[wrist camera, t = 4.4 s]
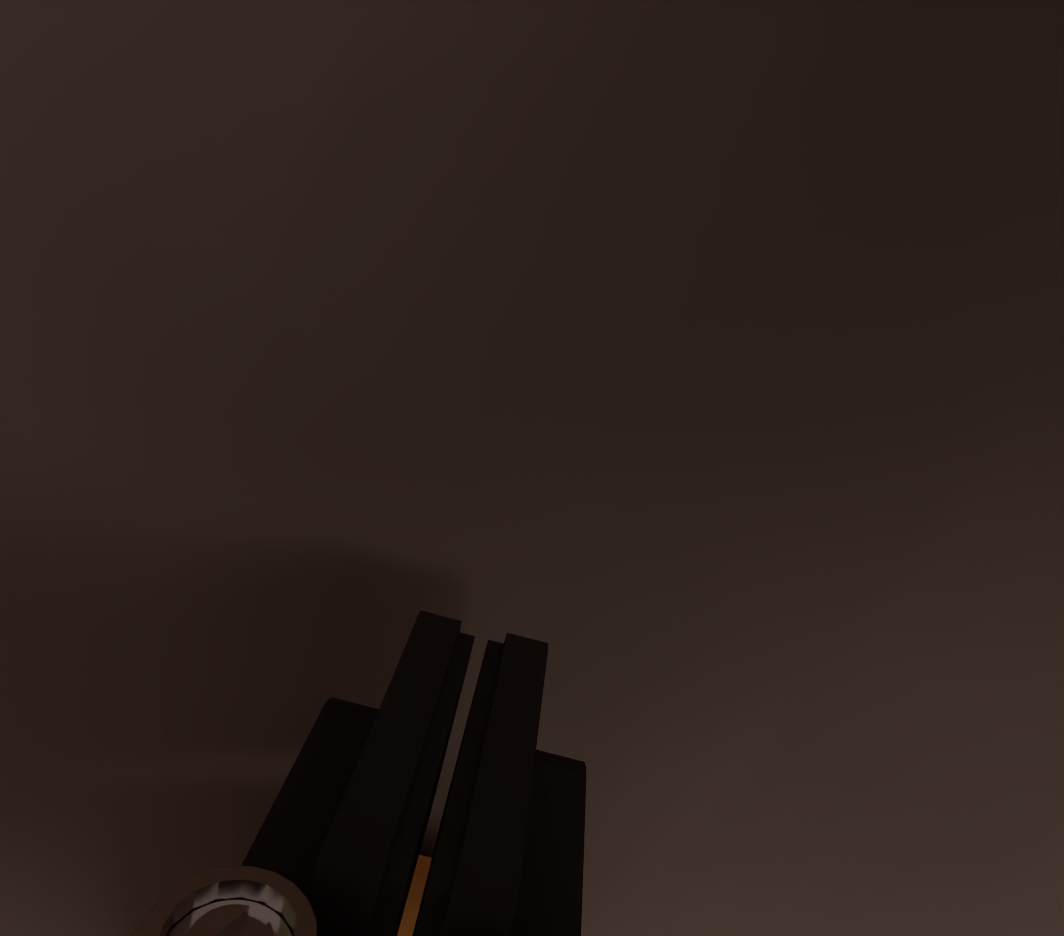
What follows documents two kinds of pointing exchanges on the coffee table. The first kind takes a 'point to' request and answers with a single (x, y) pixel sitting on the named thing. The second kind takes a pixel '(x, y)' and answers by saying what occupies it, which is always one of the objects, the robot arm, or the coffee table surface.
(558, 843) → the robot arm
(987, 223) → the coffee table surface
